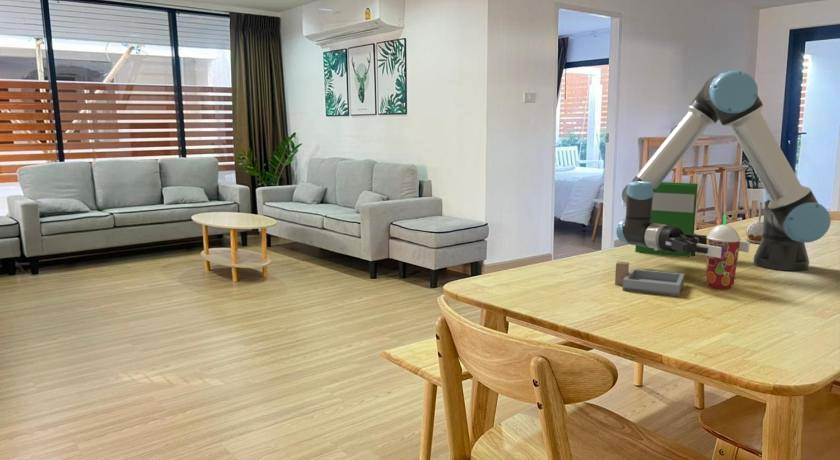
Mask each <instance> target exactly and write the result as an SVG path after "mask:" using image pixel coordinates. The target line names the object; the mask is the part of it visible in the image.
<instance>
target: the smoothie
mask: <svg viewBox="0 0 840 460" xmlns="http://www.w3.org/2000/svg"><path fill="white" fill-rule="evenodd" d="M722 222H723V223H722V224H719V225H716V226H714V227H713V228H712V229H711V230H710V231H709V233H708V235H706V236H707V237H706V238H707V241H706V245H710V246H716V247H722V251H721V258H717V257H711V256H706V255H705V256H706V257H705V259H706V261H705V262H706V264H705V265H706V266H705V275H706V277H705V278H706V279H705V282H706V283H707V287H708V288H710V289H713V290H720V291H728V290H731V289H732V286H734V283H735V278H736V277H735V276H736V270H737V264H738V259H739V252H740V251H739V246H740V241H742V240H741V238H740V236H739V233H738V232H737V230H736V229H735V228H734V227H732V226H731V225H728V224H727V214H723V221H722Z"/></svg>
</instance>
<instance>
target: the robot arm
mask: <svg viewBox="0 0 840 460" xmlns="http://www.w3.org/2000/svg"><path fill="white" fill-rule="evenodd" d="M757 84H758V83H757V82H756V80H755V79H754V77H753V76H752V75H750V74H749V73H746V72H744V71H742V70H733V69H732V70H728V71H727V70H726V71H724V72H721V73H719V74H716V75H713V76H712V77H710V78H709V79H708V80H707V81H706V82H705V83H704V84H703V86H702V87H701V89H700V90H699V91H698V93H697V94H696V96H695V97H694V99H692V101H691V102H690V104H689V105H688V107H687V109H688V111H687V113H685V115H684V117H682V119H681V120H680V121H679V123H677V125H676V126H675V127H674V129H672V130H671V132H670V133H669V135H668V136H667V137H666V138H665V140H664V141H662V143H661V144H660V145H659V147H658V148H657V150H655V152H654V153H653V154H652V156H651V157H650V158H649V159H648V161H647V162H646V163H645V164H644V165H643V167H642V168H640V171H638V173H636V175H635V177H634V178H633V179H632V180H631V181H629V182H628V183H627V184H626V185H625V186H624V187H623V190H622V191H621V192H622V193H621V198H622V201H623V203H624V204H625V206H626V208H625V218H624V219H622V220H620V221H619V222H618V224H617V225H618V226H617V227H616V230H615V231H616V232H615V233H616V237H617V238H618V240H619V241H620V242H621V243H625V244H627V245H628V244H629V245H631V246H636V245H637V246H643V247H648V248H654V250H655V251H657V250H658V249H659V250H663V251H668V252H677V251H680V252H683V253H686V254H689V252H690V253H691V256H690V257H695V256H696V255H702V256H711V257H717V258H721V251H722V247H716V246H710V245H706V241H707V238H706V237H707V236H708V235H704V234H702V235H701V234H697V233H694V234H693V235H692V234H685V235H684V233H683V231H682V229H681V228H679V227H675V226H669V225H668V226H667V225H664V224H657V223H651V219H652V203H653V195H654V193H653V192H654V191H655V190H656V188H657V187H658V186H659V185H660V184H661V182H664V181H665V179H666V178H667V177H668V176H669V174H670V173H671V172H672V171H673V170H674V168H675V167H676V166H677V164H678V163H680V161H681V160H682V159H683V158H684V156H685V155H686V154H687V153H688V152H689V150H690V149H691V148H692V147H693V146H694V145H695V143H696V142H697V141H698V140H699V138H700V137H701V136H702V135H703V133H704V132H705V131H706V130H707V129H708V128H709V127H710V126H714V125H716V123H717V122H718V121H719V122H720V124H721V125H722V127H725V128H730V129H731V132H732V133H733V135H734V136H735V138H736V140H737V142H738V144H739V146H740V147H741V149H742V151H743V154H744V155H745V156H746V157H747V160H748V161H749V163H750V165H751V167H752V168H753V170H754V172H755V174H756V176H757V178H758V179H759V181H760V183H761V185H762V187H763V188H764V190H765V192H766V196H765V201H764V211H763V213H764V214H763V221H762V222H763V232H762V240H761V242H760V243H759V245H758V246H757V249H756V251H755V253H754V256H753V264H754V265H755V266H759V267H761V268H766V269H772V270H777V271H778V270H779V271H780V270H781V271H795V272H796V271H805V270H808V269H809V268H810V259H809V256H808V252H807V251H808V250H807V247H806V244H807V243H813V242H816V241H818V240H820V239H821V238H823V236H825V234H826V233H827V232H828V231H829V229H830V226H831V222H832V221H831V219H832V218H831V215H830V212H829V211H828V209H827V208H826V207H825V206H823V204H820V203H819V201H818V200H817V198H816V197H815V195H814V192H813V191H812V189H811V188H810V187H808V186H804V185H802V184H801V182H800V180H799V179H798V177H797V175H796V172H795V171H794V169H793V167H792V166H791V164H790V162H789V161H788V159H787V157H786V156H785V154H784V151H782V148H781V147H780V145H779V143H778V141H777V139H776V137H775V136H774V133H773V132H772V131H771V129H770V127H769V125H768V123H767V122H766V120H765V118H764V116H763V113H762V111H763V109H764V104H763V101H762V99H761V97H760V96H759V95H758V94H759V88H758V85H757ZM805 243H806V244H805ZM750 246H751V242H749V241H745V240H744V241H743V240H741V241H740V246H739V252H743V253H750Z"/></svg>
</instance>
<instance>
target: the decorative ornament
mask: <svg viewBox="0 0 840 460" xmlns="http://www.w3.org/2000/svg"><path fill="white" fill-rule="evenodd" d="M762 206H763V202H759V210H758V211H759V212H758V219H757V220H758V221H757V220H755V221H754V222H751V223H749V224H748V226H747V228H746V229H745V235H747V237H746V238H745V242H750V243H753V244H760V242H761V240H762V232H763V221H761V218H762V210H763V209H762Z"/></svg>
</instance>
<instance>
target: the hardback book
mask: <svg viewBox="0 0 840 460" xmlns="http://www.w3.org/2000/svg"><path fill="white" fill-rule="evenodd" d="M698 185H699V184H698V183H695V182H693V183H692V182H691V183H690V182H669V181H668V182H667V181H662V182H661V184H660V185H659V186H658V187H657V188H656V190H655V191H654V192H653V193H654V195H653V203H652V219H651V223H657V224H664V225H667V226H668V225H669V226H675V227H679V228H681V229H682V231H683V233H684V235H685V234H692V235H693V234H695V227H696V226H695V225H696V212H697V200H698ZM634 252H635V253H638V254H639V253H643V254H651V255H661V256H672V257H674V256H675V257H682V258H691V257H692V256H691V253H690V252H689V254H686V253H683V252H680V251H677V252H668V251H663V250H659V249H658V250H657V251H655V250H654V248H648V247H643V246H637V245H635V250H634Z"/></svg>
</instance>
